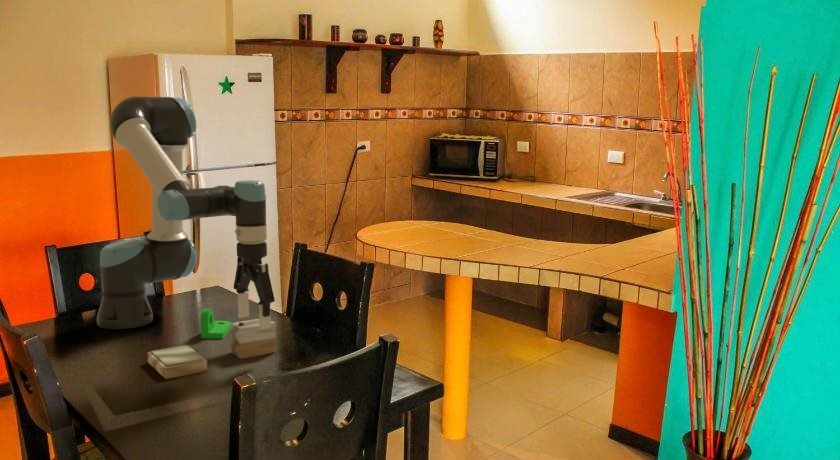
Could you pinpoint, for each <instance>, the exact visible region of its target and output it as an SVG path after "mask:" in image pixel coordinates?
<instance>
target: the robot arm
mask: <svg viewBox="0 0 840 460" xmlns="http://www.w3.org/2000/svg"><path fill="white" fill-rule="evenodd" d="M109 128H110V131H111V134H112V136H113V138H114V139H115V141H116V143H117V144H118V145H120V147H123V148H125V149H126V150H127V151H128V153H129V155H130V156H131V157H132V158H133V160H134V162H135V163H136V164H137V166H138V167H139V168H140V170H141V172H143V174H144V176H145V177H146V179H147V180H148V181H149V183H150V184H151V218H152V219H151V223H152V224H151V229H152V230H151V231H150V232H149V233H148V234H147V235H146V243H144V242H143V241H142V240H140V239H129V240H126V239H125V240H120V241H116V242H112V243H109V244H107V245H105V246H104V247H103V248H102V249H101V250H100V253H99V255H100V256H99V257H100V259H99V260H100V261H99V267H100V279H101V281H100V283H101V295H102V296H101V302H100V305H99V309H98V312H97V316H96V325H97V326H98V327H99V328H101V329H106V330H128V329H134V328H139V327H143V326H146V325H149V324H151V323H152V322H153V321H154V315H153V310H152V307H151V305H150V303H149V300H148V297H147V294H146V284H152V283H158V282H166V281H175V280H179V279H181V278H186V277H188V276H189V275H190V274H191V273H192V272H193V271H194V269H195V265H196V262H197V250H196V249H195V244H194V243H193V241H192V240H191V239H189V235H188V233H186V232H185V231H184V229H183V227H184V226H183V223H184V222H183V221H187V220H193V219H201V218H202V219H203V218H214V217H225V216H227V217H228V216H233V217H235V230H234V234H236V241H237V243H236V257H237V260H236V261H237V262H236V263H237V264H236V271H235V276H234V277H235V278H234V282H233V289H234V290H235V291H236V293H237V313H238V314H237V316H238V317H237V318H239V319H242V318H243V319H244V318H249V317H250V306H249V305H250V301H249V291H250V289H249V285H250V283H251V282H253V284H254V286H255V290H256V294H257V296H258V300H259V302H258V304H257V305H258V315H259V317H258V319H259V324H260V330H263V329H268V328H271V320H272V319H271V316H272V315H271V314H272V313H271V304H272V303H274V302H275V296H274V295H275V294H274V290H273V287H272V282H271V277H270V273H269V264H268V263H263V261H262V259H263V258H266V257H267V255H268V247H267V246H268V245H267V244H268V243H267V242H266V241H267V239H268V236H267V235H268V233H267V232H268V231H267V201H266V199H267V195H266V186H265V185H266V184H265V183H264V182H263V181H262V180H254V179H252V180H250V179H249V180H239V181H235V183H234V186H230V185H216V186H213V187H205V188H203V187H202V188H200V187H199V188H192V187H191V186H190V184H189V183H188V182H187V180H186V179H185V177H184V176H183V150H185V148H186V147H188V145H189V142H188V141H189V139H190V138H192V137H194V136H195V132H196V131H197V120H196V114H195V111H194V109H193V108H192V106H191V104H190V103H189V102H188V100H186V99H184V98H180V97H172V96H130V97H126V98H125V99H123V100H121V101H119V102H118V103H117V105H116V106H115V107H114V108H113V109H112V112H111V114H110V119H109Z"/></svg>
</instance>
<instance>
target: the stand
mask: <svg viewBox="0 0 840 460" xmlns="http://www.w3.org/2000/svg"><path fill="white" fill-rule="evenodd" d="M147 363H148V364H149V366H151V367H152V368H154V370H155V371H156V372H158V373H159V374H160V376H162V377H163V378H164V379H165V380H167V379H173V378H177V377H183V376H189V375H194V374H198V373H199V374H200V373H203V372H208V360H207V359H206V358H205V357H203V356H202V355H201V354H200V353H198V352H196V351H195V350H194V349H193V348H191V347H190V346H189V345H187V344H184V345H179V346H178V345H177V346H173V347H167V348H161V349H155V350H150V351H147Z"/></svg>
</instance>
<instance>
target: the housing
mask: <svg viewBox="0 0 840 460" xmlns="http://www.w3.org/2000/svg"><path fill="white" fill-rule="evenodd" d="M276 327H277V324H276V322H275V321H274V320H272V319H271V328H268V329H263V330H260V324H259V318H256V319H255V318H254V319H249V320H242V321H236V322H231V329H230V334H231V335H230V336H231V338H230V352H231V354H233V355H234V356H235V357H237V358H238V359H239V360H242V359H243V360H244V359H248V358H252V357H257V356H263V355H268V354H274V353H277V351H278V350H277V344H278V343H277V329H276Z"/></svg>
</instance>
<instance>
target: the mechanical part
mask: <svg viewBox="0 0 840 460" xmlns="http://www.w3.org/2000/svg"><path fill="white" fill-rule="evenodd" d="M214 316H215V315H214V310H213V308H203V309H202V311H201V313H200V335H201V336H200V337H201V339H220V340H221V339H222V340H223V339H224V338H225V337H226V335H228V333H229V332H230V331H231V323H232V322H231V321H228V320H215V317H214Z"/></svg>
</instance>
